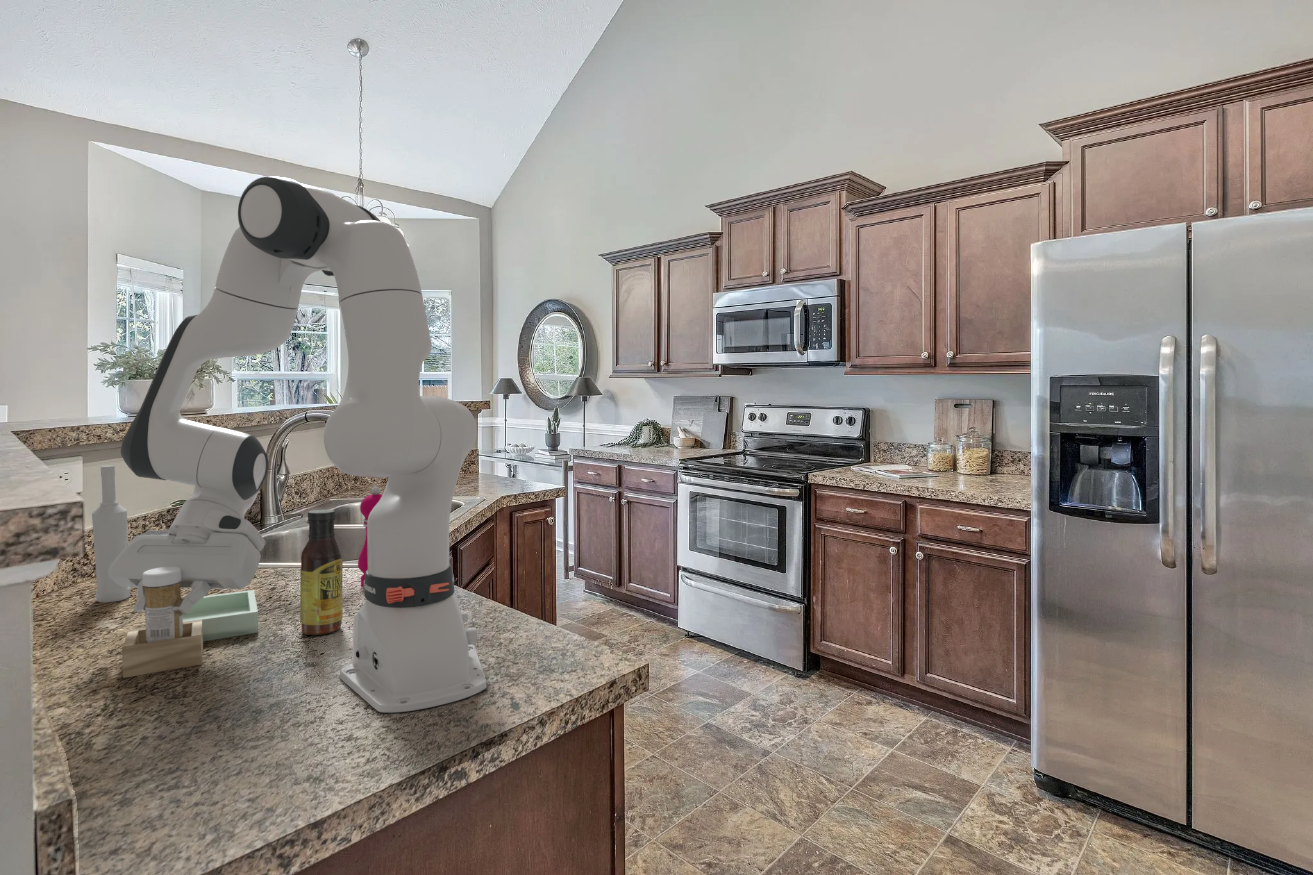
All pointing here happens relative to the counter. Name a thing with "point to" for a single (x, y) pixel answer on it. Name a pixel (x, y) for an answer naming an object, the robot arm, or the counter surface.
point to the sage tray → (226, 615)
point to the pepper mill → (365, 509)
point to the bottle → (109, 538)
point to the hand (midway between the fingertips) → (160, 612)
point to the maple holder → (162, 651)
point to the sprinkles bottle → (162, 604)
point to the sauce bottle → (321, 577)
